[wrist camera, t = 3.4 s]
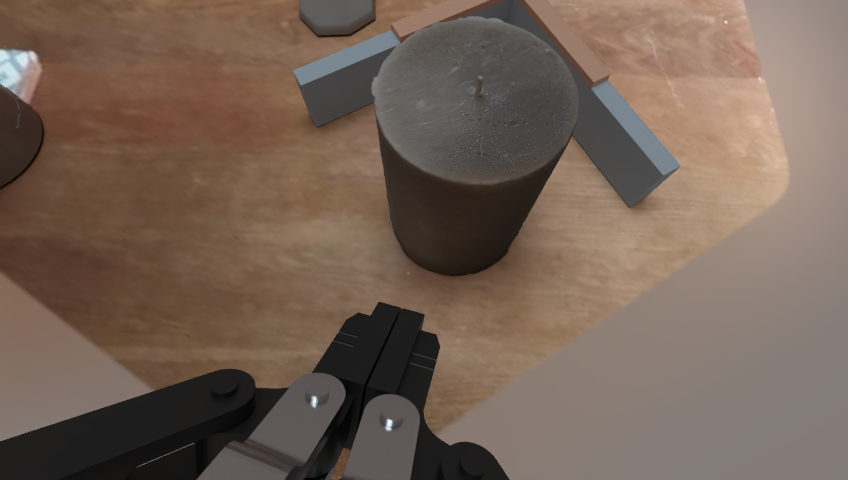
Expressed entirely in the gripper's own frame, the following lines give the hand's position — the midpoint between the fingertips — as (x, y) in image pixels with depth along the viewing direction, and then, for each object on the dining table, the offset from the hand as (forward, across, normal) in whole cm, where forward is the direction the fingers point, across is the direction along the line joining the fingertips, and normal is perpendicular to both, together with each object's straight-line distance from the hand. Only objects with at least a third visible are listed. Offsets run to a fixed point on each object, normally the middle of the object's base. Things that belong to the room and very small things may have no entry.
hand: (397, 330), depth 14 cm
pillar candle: (+20, 0, +3) cm, 20 cm away
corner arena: (+23, 0, -1) cm, 23 cm away
